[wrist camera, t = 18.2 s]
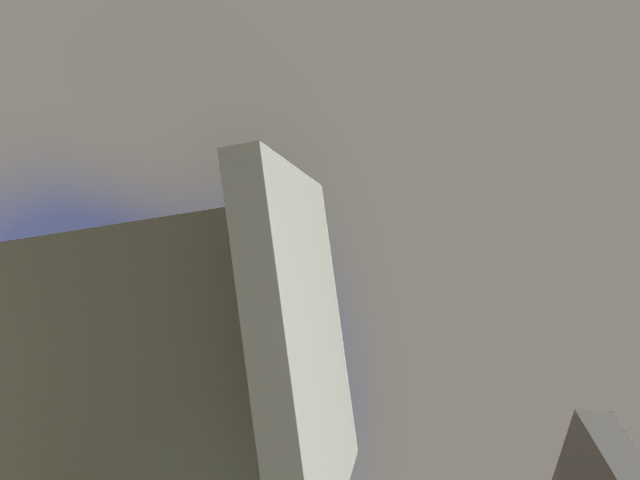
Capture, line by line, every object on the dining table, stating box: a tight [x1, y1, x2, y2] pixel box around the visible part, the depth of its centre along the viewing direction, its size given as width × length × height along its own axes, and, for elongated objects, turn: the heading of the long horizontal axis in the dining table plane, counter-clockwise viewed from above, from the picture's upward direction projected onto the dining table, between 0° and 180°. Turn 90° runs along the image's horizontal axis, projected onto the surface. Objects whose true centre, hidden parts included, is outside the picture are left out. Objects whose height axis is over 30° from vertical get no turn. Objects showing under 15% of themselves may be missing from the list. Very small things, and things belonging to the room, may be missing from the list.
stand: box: [0, 141, 358, 480], centre depth 37 cm, size 18×20×30 cm
